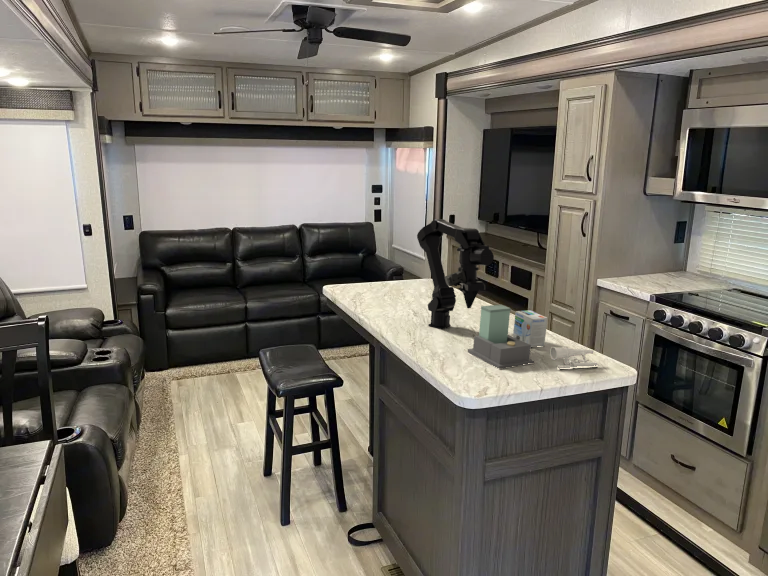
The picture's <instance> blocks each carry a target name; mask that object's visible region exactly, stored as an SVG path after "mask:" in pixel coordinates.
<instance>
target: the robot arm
mask: <svg viewBox="0 0 768 576" xmlns="http://www.w3.org/2000/svg"><path fill="white" fill-rule="evenodd" d="M444 235H447V236H449V237H451V238H453V239H454V241H455V242H456V243H457V244H458V245H459V247H458V248H457V249H456V251H457V252H460V254H459V255H460V262H459V263H460V266H459V267H458V268H457V271H455V272H453V273H450V274H448V275H446V276H445V272H444V271H445V270H444V267H443V263H442V260H441V258H442V257H441V256H440V255H441V254H440V251H439V248H440V244H441V238H442V236H444ZM416 237H417V241H418V244H419V247H420V248H421V249H422V250H423V251H424V252H425V254H426V259H427V262H428V266H429V271H430V276H431V279H432V284H433V290H432V293H431V300H430V301H429V303H427V310H428V311H429V312H431V314H430V323H428V324H427V325H428V327H433V328H437V329H441V330H444V329H446V328H448V327H451V326H452V325H451V324H450V322H451V315H450V312H453V311H454V308H455V305H456V302H457V299H456V298H457V295H456V293H455V288H454V287H457V286H459V287H458V288H457V289H458V290H459V291H461V292H462V294H463V299H464V301H465V305H466V308H467V309H471V308H472V306H473V304H474V301H475V300H476V297H477V295H478V293H479V291H486V284H485V283H484V282H483V281H480V279H479V278H478V271H479V270H480V269H479V266H485V267H486V266H487V267H488V266H490V265H492V264H493V262H494V259H495V257H494V254H493V251H492V250H491V249H490V246H489V245H486V244H485V241H484V240H483V238H482V236H481V234H480V232H479V230H478V229H477V228H475V227H474V228H472V227H461V226H460V225H457V224H454V223H452V222H449V221H447V220H446V219H443V218H442V219H441V218H439V219H433V220H432V221H431V222H430V223H428V224H427V225H424V226H423V227H422V228H421V229H419V231H418V232H417V235H416ZM453 286H454V287H453Z"/></svg>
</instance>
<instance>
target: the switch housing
mask: <svg viewBox="0 0 768 576" xmlns="http://www.w3.org/2000/svg"><path fill="white" fill-rule="evenodd" d="M472 347H473V348H472ZM472 347H471V348H467V353H469V354H471V355H472V356H475V357H476V358H478V359H480V360H482V361H484V362H485V363H487V364H489V365H491V366H492V365H493V367H494V366H495V367H494V368H496V367H497V368H496V369H498V368H503V369H507V368H506V367H510V368H513V367H512V366H516V367H519V366H518V365H522V366H524V365H523V364H528V363H534V364H535V360H533V359H531V357H530V356H531V349H532V348H531V345H529V344H527V343H525V342H523V341H520V340H518V339H516V338H514V337H513V335H512V336H511V335H509V334H508V337H507V342H505V343H498V344H495V343H493V342H491V341H489V340H487V339H485V338H483V337H481V336H479V334H478V335H474V336H473V346H472Z"/></svg>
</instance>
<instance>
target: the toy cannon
mask: <svg viewBox="0 0 768 576" xmlns="http://www.w3.org/2000/svg"><path fill="white" fill-rule="evenodd" d="M589 354H592V355H593V354H594V349H587V348H582V347H581V348H570V347H568V346H563V347H556V346H551V347H550V350H549V355H550V358H551V360H553V361H555V360H560V359H563V364H564V365H559V364H558V365H556V368H557V367H558V368H559V369H560V368H570V367H577V366H594V365H595V366H596V365H598V366H599V363H598V362H597V361H590V359H587V358H586V356H585V355H589ZM575 356H581V357H582V359H578V358H577V357H575ZM572 357H574V358H573V359H574V360H570V358H572Z"/></svg>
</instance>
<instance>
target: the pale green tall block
mask: <svg viewBox="0 0 768 576" xmlns="http://www.w3.org/2000/svg"><path fill="white" fill-rule="evenodd" d="M510 313H511V307H510V306H509V307H508V306H506V305H504V304H490V305H481V306H480V320H479V330H478V332H479V333H478V335H479V336H481V337H483V338H485V339H487V340H489V341H491V342H493V343H495V344H498V343H505V342H507V337H508V335H509V327H510V326H509V325H510V317H511V314H510Z"/></svg>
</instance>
